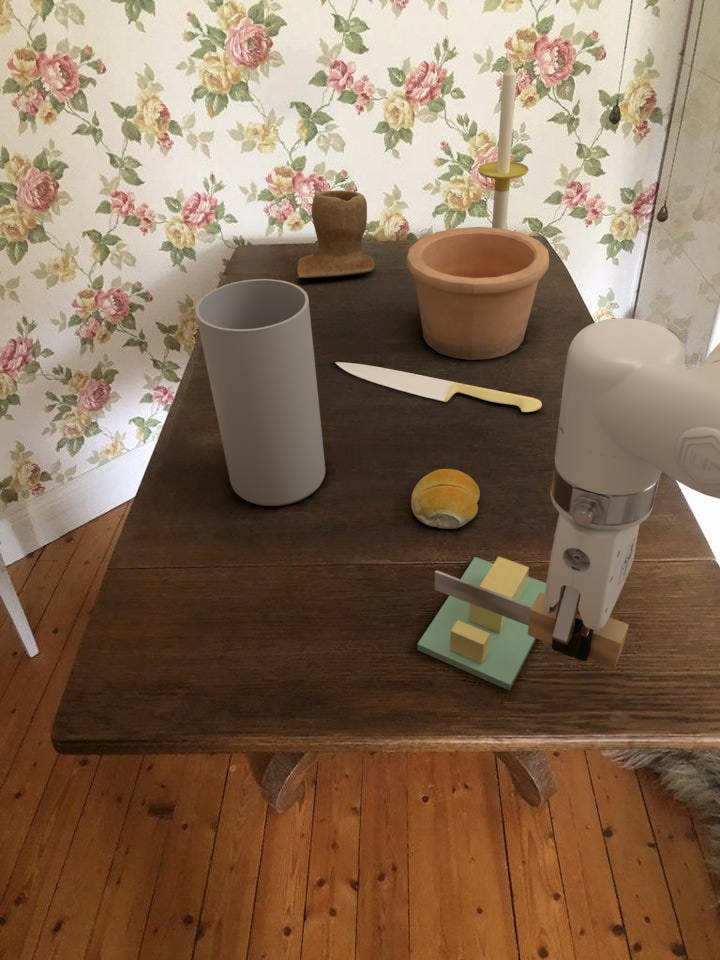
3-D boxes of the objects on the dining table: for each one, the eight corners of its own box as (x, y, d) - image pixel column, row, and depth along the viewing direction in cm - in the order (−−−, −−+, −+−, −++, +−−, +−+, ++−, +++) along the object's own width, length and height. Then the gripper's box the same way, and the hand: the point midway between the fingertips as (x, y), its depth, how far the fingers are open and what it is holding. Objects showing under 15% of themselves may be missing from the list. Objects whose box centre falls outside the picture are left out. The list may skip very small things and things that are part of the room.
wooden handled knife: (622, 649, 67) (628, 624, 65) (614, 669, 66) (620, 643, 63) (440, 580, 75) (441, 555, 73) (429, 596, 73) (429, 571, 71)
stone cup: (370, 255, 153) (367, 180, 144) (377, 280, 144) (374, 201, 135) (296, 261, 153) (288, 186, 143) (298, 287, 143) (290, 208, 134)
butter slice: (488, 652, 75) (490, 633, 73) (481, 664, 74) (483, 644, 72) (456, 638, 76) (457, 619, 74) (449, 650, 75) (450, 630, 73)
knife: (326, 377, 119) (340, 359, 122) (533, 425, 106) (544, 403, 109) (324, 371, 119) (339, 353, 121) (533, 418, 105) (544, 396, 108)
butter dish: (559, 594, 81) (564, 568, 79) (509, 690, 72) (512, 665, 70) (474, 562, 86) (476, 537, 83) (417, 650, 77) (417, 624, 74)
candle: (471, 268, 146) (481, 49, 122) (523, 270, 144) (544, 48, 120) (466, 291, 139) (476, 63, 115) (521, 293, 137) (543, 62, 113)
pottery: (401, 367, 119) (399, 282, 110) (415, 303, 136) (415, 225, 127) (541, 372, 116) (551, 285, 107) (537, 306, 132) (546, 226, 123)
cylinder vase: (305, 517, 93) (281, 337, 77) (214, 499, 96) (174, 323, 80) (339, 457, 102) (324, 284, 86) (255, 442, 105) (226, 274, 89)
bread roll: (481, 486, 96) (482, 461, 93) (474, 534, 89) (476, 508, 87) (416, 480, 97) (416, 455, 95) (406, 526, 91) (405, 501, 88)
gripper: (622, 568, 50) (588, 727, 61) (681, 439, 60) (642, 596, 71) (515, 532, 53) (501, 690, 64) (588, 416, 63) (565, 570, 75)
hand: (575, 639), depth 68 cm, fingers closed on wooden handled knife, 2 cm apart
